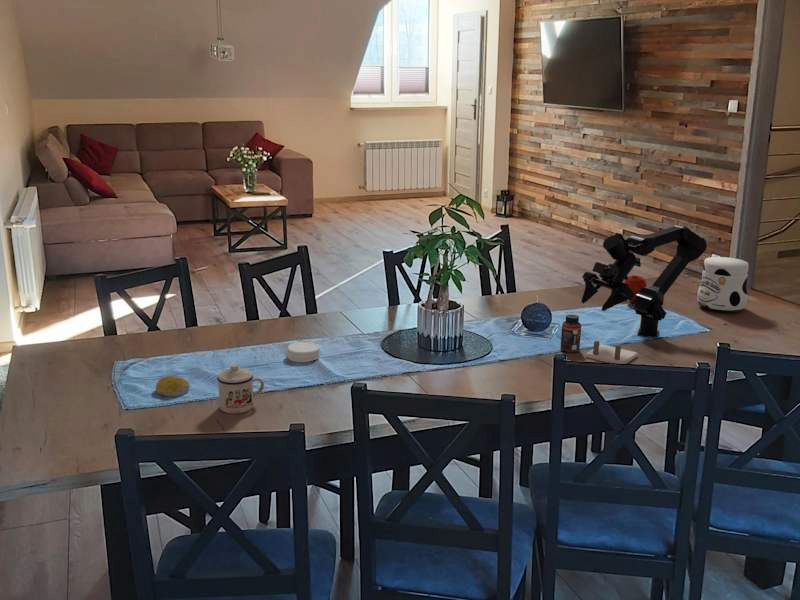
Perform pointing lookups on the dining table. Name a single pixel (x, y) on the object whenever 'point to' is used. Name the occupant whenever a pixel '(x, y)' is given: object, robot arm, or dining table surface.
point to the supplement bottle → (571, 334)
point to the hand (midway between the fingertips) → (592, 306)
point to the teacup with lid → (237, 390)
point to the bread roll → (172, 386)
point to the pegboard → (610, 353)
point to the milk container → (723, 284)
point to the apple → (635, 284)
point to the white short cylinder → (303, 352)
